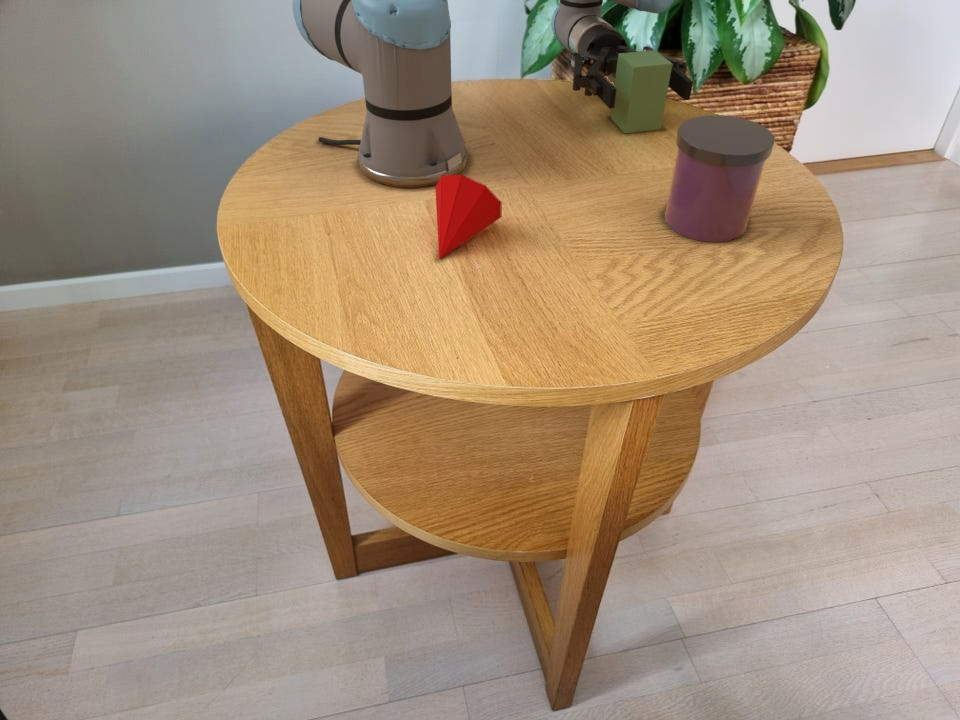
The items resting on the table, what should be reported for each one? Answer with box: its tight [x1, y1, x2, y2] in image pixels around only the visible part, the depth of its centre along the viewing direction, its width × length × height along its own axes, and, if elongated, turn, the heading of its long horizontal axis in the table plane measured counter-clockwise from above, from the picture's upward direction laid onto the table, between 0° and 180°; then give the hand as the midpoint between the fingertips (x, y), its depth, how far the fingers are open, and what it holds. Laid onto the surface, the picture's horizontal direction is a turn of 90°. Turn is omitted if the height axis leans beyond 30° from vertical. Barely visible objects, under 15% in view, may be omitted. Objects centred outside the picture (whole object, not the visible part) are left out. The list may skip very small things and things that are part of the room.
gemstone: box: [434, 173, 503, 260], centre depth 84 cm, size 9×9×10 cm
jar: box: [664, 114, 776, 243], centre depth 84 cm, size 11×11×11 cm
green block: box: [610, 49, 672, 135], centre depth 106 cm, size 6×6×10 cm
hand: (651, 95), depth 103 cm, fingers open, 11 cm apart
